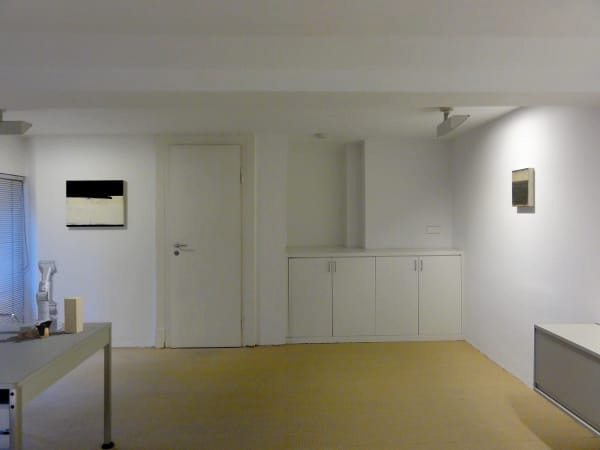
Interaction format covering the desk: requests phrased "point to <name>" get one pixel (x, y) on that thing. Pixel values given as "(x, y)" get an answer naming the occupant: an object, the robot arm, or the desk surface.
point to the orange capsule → (45, 333)
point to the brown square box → (28, 334)
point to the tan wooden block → (73, 314)
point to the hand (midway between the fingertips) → (44, 334)
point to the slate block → (27, 328)
